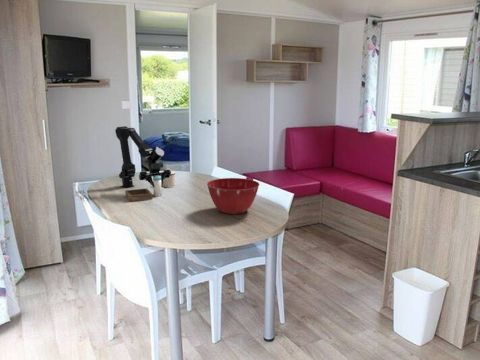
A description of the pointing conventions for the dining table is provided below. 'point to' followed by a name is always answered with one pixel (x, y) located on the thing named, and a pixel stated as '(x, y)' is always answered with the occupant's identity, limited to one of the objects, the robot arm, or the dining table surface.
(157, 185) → the canister
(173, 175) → the teacup with lid
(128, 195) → the brown wooden tray
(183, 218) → the dining table surface
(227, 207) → the mixing bowl
